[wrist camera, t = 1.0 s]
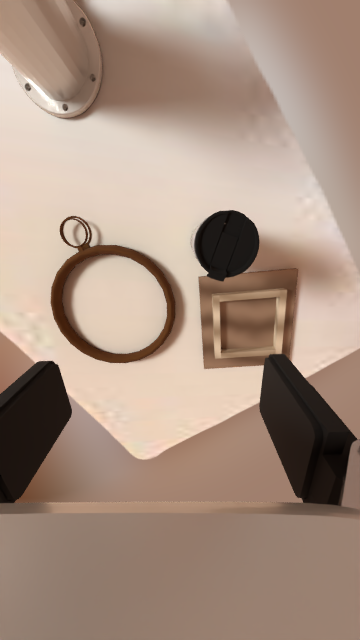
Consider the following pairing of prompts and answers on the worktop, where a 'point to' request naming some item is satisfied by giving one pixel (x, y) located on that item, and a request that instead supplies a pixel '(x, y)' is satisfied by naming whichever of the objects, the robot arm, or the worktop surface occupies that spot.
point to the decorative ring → (88, 251)
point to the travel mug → (225, 244)
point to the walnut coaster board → (247, 317)
